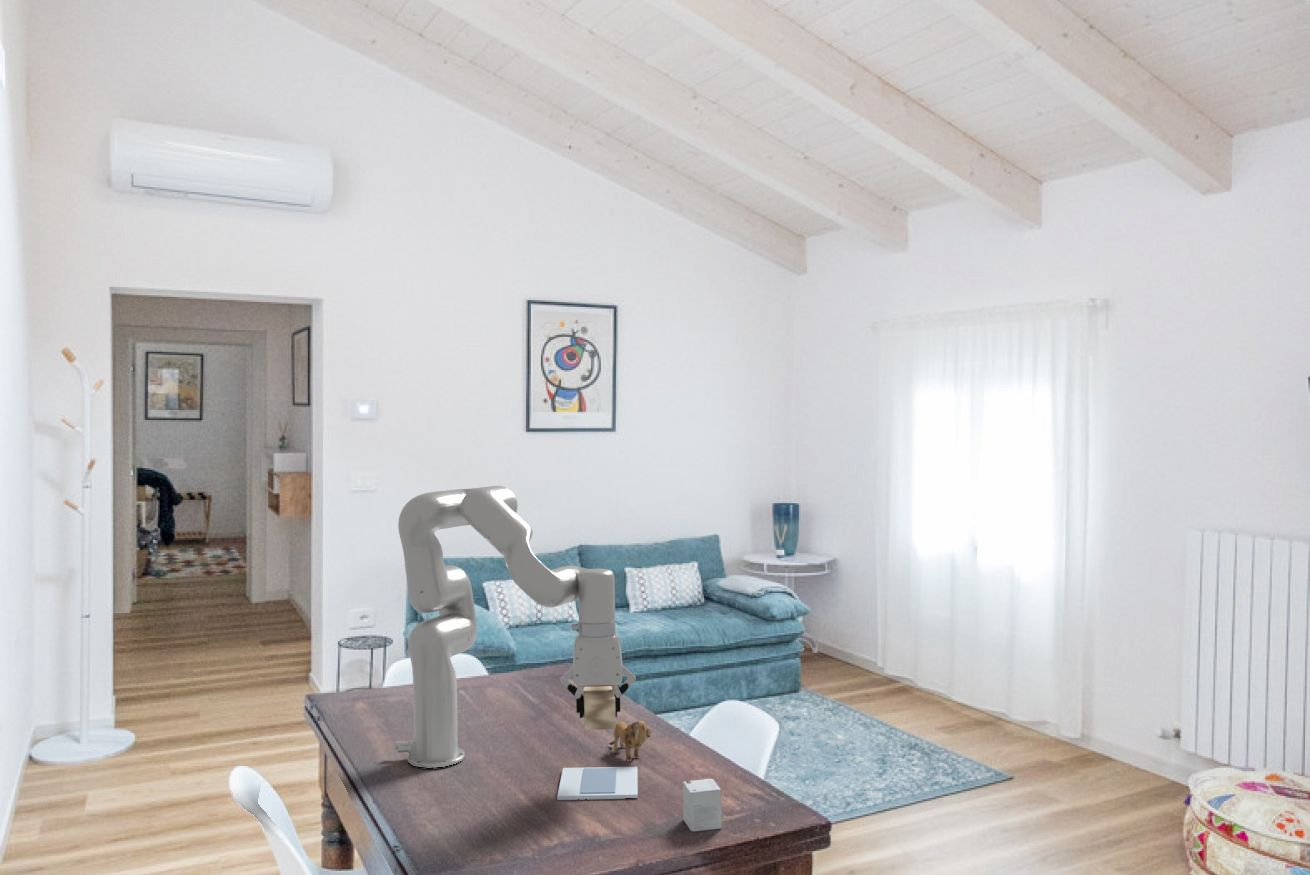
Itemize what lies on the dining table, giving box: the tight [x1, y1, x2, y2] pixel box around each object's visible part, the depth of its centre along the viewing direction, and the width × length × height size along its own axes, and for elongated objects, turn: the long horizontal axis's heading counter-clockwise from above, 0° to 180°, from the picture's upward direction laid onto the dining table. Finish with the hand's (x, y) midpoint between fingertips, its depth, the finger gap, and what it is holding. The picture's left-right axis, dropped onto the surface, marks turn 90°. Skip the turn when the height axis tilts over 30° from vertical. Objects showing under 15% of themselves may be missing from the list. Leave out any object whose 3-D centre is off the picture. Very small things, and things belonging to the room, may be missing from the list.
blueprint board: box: [556, 766, 639, 801], centre depth 204 cm, size 16×16×1 cm
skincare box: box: [682, 778, 723, 832], centre depth 184 cm, size 6×6×7 cm
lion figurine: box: [608, 720, 653, 762], centre depth 222 cm, size 15×5×9 cm, turn 36°
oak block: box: [582, 686, 617, 731], centre depth 204 cm, size 6×13×6 cm, turn 7°
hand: (598, 714), depth 204 cm, fingers closed on oak block, 6 cm apart
